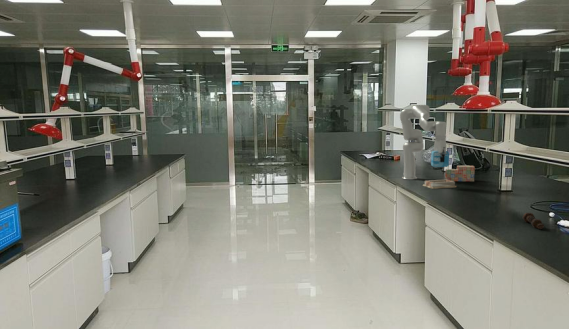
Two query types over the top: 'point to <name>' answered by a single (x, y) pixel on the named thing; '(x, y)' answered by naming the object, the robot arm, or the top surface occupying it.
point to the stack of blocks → (460, 173)
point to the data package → (436, 159)
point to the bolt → (533, 220)
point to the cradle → (439, 184)
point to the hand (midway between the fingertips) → (440, 161)
